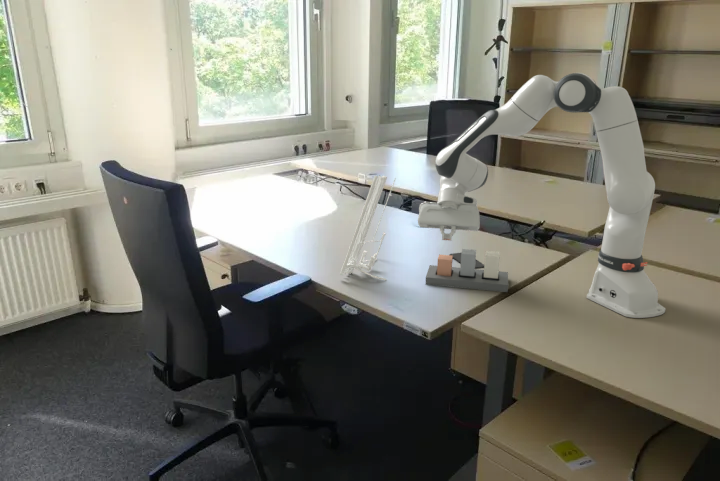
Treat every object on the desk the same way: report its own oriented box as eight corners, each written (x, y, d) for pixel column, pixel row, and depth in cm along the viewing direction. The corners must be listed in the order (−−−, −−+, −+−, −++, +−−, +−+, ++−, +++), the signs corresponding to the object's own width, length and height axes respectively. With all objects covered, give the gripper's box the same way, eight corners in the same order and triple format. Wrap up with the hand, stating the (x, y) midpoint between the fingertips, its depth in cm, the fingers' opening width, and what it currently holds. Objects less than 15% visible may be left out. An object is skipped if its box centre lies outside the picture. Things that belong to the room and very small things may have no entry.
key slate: (474, 271, 176) (476, 250, 174) (474, 276, 172) (475, 254, 170) (460, 270, 177) (462, 248, 175) (459, 275, 173) (461, 253, 171)
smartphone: (468, 268, 186) (448, 253, 199) (468, 271, 186) (447, 256, 199) (486, 266, 188) (465, 251, 201) (486, 268, 188) (465, 254, 201)
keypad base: (507, 279, 178) (507, 272, 177) (507, 292, 168) (508, 285, 167) (429, 271, 184) (429, 265, 183) (425, 284, 174) (425, 277, 173)
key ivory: (497, 273, 175) (499, 251, 172) (497, 278, 171) (499, 256, 168) (483, 272, 176) (485, 250, 173) (483, 277, 172) (485, 255, 169)
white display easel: (371, 268, 197) (404, 179, 190) (402, 284, 190) (437, 193, 183) (336, 272, 177) (372, 173, 169) (370, 291, 170) (408, 188, 163)
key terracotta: (451, 276, 179) (452, 255, 176) (450, 281, 175) (451, 260, 172) (438, 275, 180) (439, 254, 178) (436, 280, 176) (437, 259, 173)
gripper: (419, 196, 178) (414, 233, 172) (481, 199, 174) (478, 237, 168) (420, 206, 184) (415, 241, 178) (481, 209, 179) (478, 246, 173)
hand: (446, 239), depth 173 cm, fingers closed
